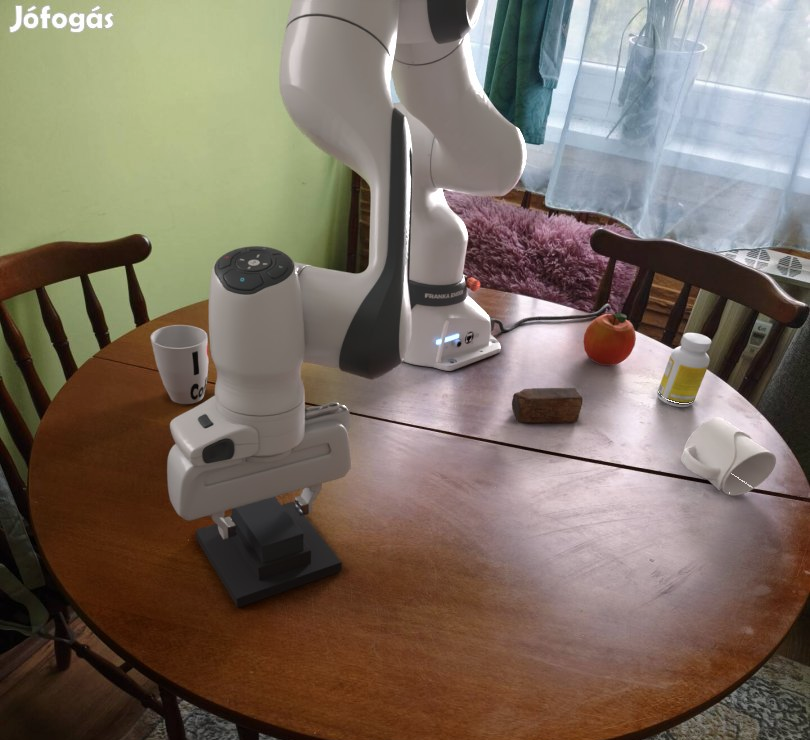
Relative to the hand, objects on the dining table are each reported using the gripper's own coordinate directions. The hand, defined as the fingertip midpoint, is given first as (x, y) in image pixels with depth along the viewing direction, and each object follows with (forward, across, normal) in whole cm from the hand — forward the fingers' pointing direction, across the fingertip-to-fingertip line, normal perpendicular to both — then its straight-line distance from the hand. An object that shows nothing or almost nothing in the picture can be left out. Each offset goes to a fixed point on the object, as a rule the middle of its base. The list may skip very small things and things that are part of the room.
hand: (266, 522), depth 80 cm
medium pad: (+4, 0, 0) cm, 4 cm away
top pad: (+2, 0, 0) cm, 2 cm away
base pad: (+5, 0, 0) cm, 5 cm away
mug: (+5, -66, +14) cm, 68 cm away
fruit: (+5, -80, -23) cm, 83 cm away
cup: (+5, -4, -40) cm, 41 cm away
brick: (+5, -54, -11) cm, 55 cm away
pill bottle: (+5, -81, -6) cm, 81 cm away
